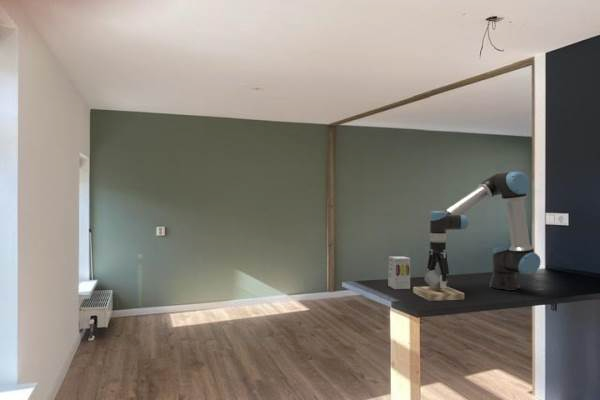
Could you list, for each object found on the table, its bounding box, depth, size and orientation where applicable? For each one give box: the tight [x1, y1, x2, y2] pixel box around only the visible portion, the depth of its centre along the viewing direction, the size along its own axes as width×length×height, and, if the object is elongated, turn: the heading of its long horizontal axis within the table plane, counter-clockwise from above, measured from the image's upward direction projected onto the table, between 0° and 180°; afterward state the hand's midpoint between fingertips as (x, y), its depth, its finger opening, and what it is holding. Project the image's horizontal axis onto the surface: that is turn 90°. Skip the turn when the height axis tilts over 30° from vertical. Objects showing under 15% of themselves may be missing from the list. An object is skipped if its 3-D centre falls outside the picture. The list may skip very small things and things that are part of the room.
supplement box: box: [387, 255, 411, 290], centre depth 229 cm, size 10×9×17 cm
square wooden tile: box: [412, 285, 465, 302], centre depth 208 cm, size 18×18×3 cm
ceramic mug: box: [424, 269, 448, 291], centre depth 208 cm, size 11×8×8 cm
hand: (437, 285), depth 208 cm, fingers closed on ceramic mug, 10 cm apart
